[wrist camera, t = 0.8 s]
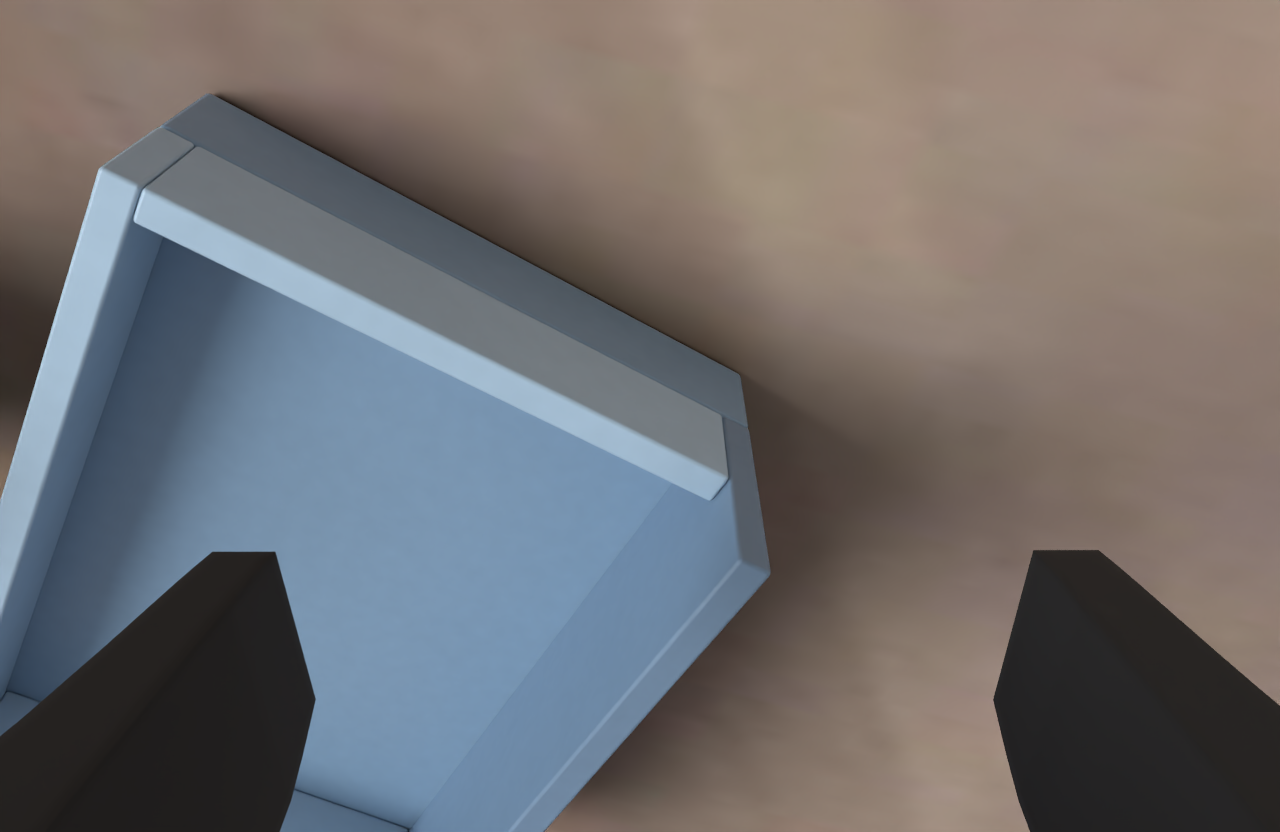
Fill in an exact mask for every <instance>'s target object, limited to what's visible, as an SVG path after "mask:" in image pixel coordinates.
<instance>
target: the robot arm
mask: <svg viewBox="0 0 1280 832" xmlns="http://www.w3.org/2000/svg"><path fill="white" fill-rule="evenodd" d="M315 701H316V698H315V695H314V691H313V687H312V684H311V680H310V676H309V673H308V669H307V665H306V662H305V658H304V654H303V651H302V647H301V643H300V640H299V636H298V632H297V629H296V625H295V621H294V618H293V614H292V610H291V607H290V603H289V599H288V596H287V592H286V588H285V585H284V581H283V577H282V574H281V570H280V566H279V563H278V559H277V555H276V552H211V553H210V554H209V555H208V556H207V557H205V558H204V559H203V560H202V561H201V562H199V563H198V564H197V565H196V566H195V567H193V568H192V569H191V570H190V571H189V572H188V573H186V574H185V575H184V576H183V577H182V578H181V579H180V580H178V581H177V582H176V583H175V584H174V585H173V586H172V587H170V588H169V589H168V590H167V591H166V592H165V593H164V594H163V595H162V596H160V597H159V598H158V599H157V600H156V601H155V602H154V603H153V604H151V605H150V606H149V607H148V608H147V609H146V610H145V611H144V612H143V613H141V614H140V615H139V616H138V617H137V618H136V619H135V620H134V621H132V622H131V623H130V624H129V625H128V626H127V627H126V628H125V629H124V630H122V631H121V632H120V633H119V634H118V635H117V636H116V637H115V638H113V639H112V640H111V641H110V642H109V643H108V644H107V645H106V646H104V647H103V648H102V649H101V650H100V651H99V652H98V653H96V654H95V655H94V656H93V657H92V658H91V659H90V660H88V661H87V662H86V663H85V664H84V665H83V666H82V667H80V668H79V669H78V670H77V671H76V672H75V673H73V674H72V675H71V676H70V677H69V678H68V679H67V680H65V681H64V682H63V683H62V684H61V685H60V686H59V687H57V688H56V689H55V690H54V691H53V692H52V693H51V694H49V695H48V696H47V697H46V698H45V699H44V700H42V701H41V702H40V703H39V704H38V705H37V706H36V707H34V708H33V709H32V710H31V711H30V712H29V713H28V714H26V715H25V716H24V717H23V718H22V719H20V720H19V721H18V722H17V723H16V724H14V725H13V726H12V727H11V728H9V729H8V730H7V731H6V732H4V733H3V734H2V735H1V736H0V832H280V830H281V827H282V824H283V822H284V819H285V816H286V813H287V811H288V808H289V805H290V802H291V799H292V795H293V792H294V788H295V784H296V780H297V776H298V772H299V768H300V765H301V761H302V757H303V753H304V748H305V744H306V740H307V735H308V731H309V727H310V722H311V718H312V714H313V709H314V705H315ZM993 701H994V705H995V709H996V713H997V717H998V721H999V726H1000V730H1001V734H1002V738H1003V742H1004V747H1005V751H1006V755H1007V759H1008V762H1009V766H1010V770H1011V774H1012V777H1013V781H1014V785H1015V789H1016V792H1017V796H1018V800H1019V803H1020V806H1021V808H1022V811H1023V814H1024V816H1025V819H1026V822H1027V824H1028V827H1029V830H1030V832H1280V706H1279V705H1278V704H1277V703H1276V702H1275V701H1273V700H1272V699H1271V698H1270V697H1269V696H1267V695H1266V694H1265V693H1264V692H1263V691H1261V690H1260V689H1259V688H1258V687H1257V686H1256V685H1254V684H1253V683H1252V682H1251V681H1250V680H1249V679H1247V678H1246V677H1245V676H1244V675H1243V674H1242V673H1240V672H1239V671H1238V670H1237V669H1236V668H1235V667H1233V666H1232V665H1231V664H1230V663H1229V662H1228V661H1226V660H1225V659H1224V658H1223V657H1222V656H1221V655H1219V654H1218V653H1217V652H1216V651H1215V650H1214V649H1213V648H1211V647H1210V646H1209V645H1208V644H1207V643H1206V642H1205V641H1203V640H1202V639H1201V638H1200V637H1199V636H1198V635H1197V634H1195V633H1194V632H1193V631H1192V630H1191V629H1190V628H1189V627H1187V626H1186V625H1185V624H1184V623H1183V622H1182V621H1180V620H1179V619H1178V618H1177V617H1176V616H1175V615H1174V614H1173V613H1171V612H1170V611H1169V610H1168V609H1167V608H1166V607H1165V606H1163V605H1162V604H1161V603H1160V602H1159V601H1158V600H1157V599H1155V598H1154V597H1153V596H1152V595H1151V594H1150V593H1149V592H1147V591H1146V590H1145V589H1144V588H1143V587H1142V586H1140V585H1139V584H1138V583H1137V582H1136V581H1135V580H1134V579H1132V578H1131V577H1130V576H1129V575H1128V574H1127V573H1125V572H1124V571H1123V570H1122V569H1121V568H1119V567H1118V566H1117V565H1116V564H1115V563H1113V562H1112V561H1111V560H1110V559H1109V558H1107V557H1106V556H1105V555H1104V554H1102V553H1101V552H1100V551H1099V550H1033V554H1032V558H1031V561H1030V565H1029V569H1028V573H1027V576H1026V580H1025V584H1024V587H1023V591H1022V595H1021V599H1020V602H1019V606H1018V610H1017V613H1016V617H1015V621H1014V625H1013V628H1012V632H1011V636H1010V639H1009V643H1008V647H1007V651H1006V654H1005V658H1004V662H1003V665H1002V669H1001V673H1000V677H999V680H998V684H997V688H996V691H995V695H994V699H993Z"/></svg>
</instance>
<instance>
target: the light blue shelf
mask: <svg viewBox="0 0 1280 832" xmlns="http://www.w3.org/2000/svg"><path fill="white" fill-rule="evenodd" d="M747 428H748V423H747V416H746V410H745V403H744V397H743V390H742V383H741V377H740V375H739V374H738V373H736V372H734V371H732V370H730V369H728V368H726V367H724V366H723V365H721V364H719V363H717V362H715V361H713V360H711V359H709V358H708V357H706V356H704V355H702V354H700V353H698V352H696V351H694V350H692V349H691V348H689V347H687V346H685V345H683V344H681V343H679V342H677V341H676V340H674V339H672V338H670V337H668V336H666V335H664V334H662V333H660V332H659V331H657V330H655V329H653V328H651V327H649V326H647V325H645V324H643V323H642V322H640V321H638V320H636V319H634V318H632V317H630V316H628V315H627V314H625V313H623V312H621V311H619V310H617V309H615V308H613V307H611V306H610V305H608V304H606V303H604V302H602V301H600V300H598V299H596V298H594V297H593V296H591V295H589V294H587V293H585V292H583V291H581V290H579V289H578V288H576V287H574V286H572V285H570V284H568V283H566V282H564V281H562V280H561V279H559V278H557V277H555V276H553V275H551V274H549V273H547V272H546V271H544V270H542V269H540V268H538V267H536V266H534V265H532V264H530V263H529V262H527V261H525V260H523V259H521V258H519V257H517V256H515V255H513V254H512V253H510V252H508V251H506V250H504V249H502V248H500V247H498V246H497V245H495V244H493V243H491V242H489V241H487V240H485V239H483V238H481V237H480V236H478V235H476V234H474V233H472V232H470V231H468V230H466V229H464V228H463V227H461V226H459V225H457V224H455V223H453V222H451V221H449V220H448V219H446V218H444V217H442V216H440V215H438V214H436V213H434V212H432V211H431V210H429V209H427V208H425V207H423V206H421V205H419V204H417V203H416V202H414V201H412V200H410V199H408V198H406V197H404V196H402V195H400V194H399V193H397V192H395V191H393V190H391V189H389V188H387V187H385V186H383V185H382V184H380V183H378V182H376V181H374V180H372V179H370V178H368V177H367V176H365V175H363V174H361V173H359V172H357V171H355V170H353V169H351V168H350V167H348V166H346V165H344V164H342V163H340V162H338V161H336V160H334V159H333V158H331V157H329V156H327V155H325V154H323V153H321V152H319V151H318V150H316V149H314V148H312V147H310V146H308V145H306V144H304V143H302V142H301V141H299V140H297V139H295V138H293V137H291V136H289V135H287V134H286V133H284V132H282V131H280V130H278V129H276V128H274V127H272V126H270V125H269V124H267V123H265V122H263V121H261V120H259V119H257V118H255V117H253V116H252V115H250V114H248V113H246V112H244V111H242V110H240V109H238V108H237V107H235V106H233V105H231V104H229V103H227V102H225V101H223V100H221V99H220V98H218V97H216V96H214V95H212V94H206V95H204V96H203V97H201V98H200V99H198V100H197V101H196V102H194V103H193V104H191V105H190V106H188V107H187V108H186V109H184V110H183V111H181V112H180V113H178V114H177V115H175V116H174V117H173V118H171V119H170V120H168V121H167V122H165V123H164V124H163V125H162V126H160V127H157V128H156V129H154V130H153V131H152V132H150V133H149V134H147V135H146V136H144V137H143V138H141V139H140V140H139V141H137V142H136V143H134V144H133V145H131V146H130V147H129V148H127V149H126V150H124V151H123V152H121V153H120V154H118V155H117V156H116V157H114V158H113V159H111V160H110V161H108V162H107V163H106V164H104V165H103V166H101V167H100V168H99V170H98V173H97V177H96V180H95V184H94V187H93V190H92V194H91V197H90V200H89V204H88V207H87V211H86V214H85V217H84V221H83V224H82V227H81V231H80V234H79V237H78V241H77V244H76V248H75V251H74V254H73V258H72V261H71V264H70V268H69V271H68V275H67V278H66V281H65V285H64V288H63V291H62V295H61V298H60V301H59V305H58V308H57V312H56V315H55V318H54V322H53V325H52V328H51V332H50V335H49V339H48V342H47V345H46V349H45V352H44V355H43V359H42V362H41V365H40V369H39V372H38V376H37V379H36V382H35V386H34V389H33V392H32V396H31V399H30V403H29V406H28V409H27V413H26V416H25V419H24V423H23V426H22V429H21V433H20V436H19V440H18V443H17V446H16V450H15V453H14V456H13V460H12V463H11V467H10V470H9V473H8V477H7V480H6V483H5V487H4V490H3V494H2V497H1V500H0V736H1V735H2V734H3V733H4V732H6V731H7V730H8V729H9V728H11V727H12V726H13V725H14V724H16V723H17V722H18V721H19V720H20V719H22V718H23V717H24V716H25V715H26V714H28V713H29V712H30V711H31V710H32V709H33V708H34V707H36V706H37V705H38V704H39V703H40V702H41V701H42V700H44V699H45V698H46V697H47V696H48V695H49V694H51V693H52V692H53V691H54V690H55V689H56V688H57V687H59V686H60V685H61V684H62V683H63V682H64V681H65V680H67V679H68V678H69V677H70V676H71V675H72V674H73V673H75V672H76V671H77V670H78V669H79V668H80V667H82V666H83V665H84V664H85V663H86V662H87V661H88V660H90V659H91V658H92V657H93V656H94V655H95V654H96V653H98V652H99V651H100V650H101V649H102V648H103V647H104V646H106V645H107V644H108V643H109V642H110V641H111V640H112V639H113V638H115V637H116V636H117V635H118V634H119V633H120V632H121V631H122V630H124V629H125V628H126V627H127V626H128V625H129V624H130V623H131V622H132V621H134V620H135V619H136V618H137V617H138V616H139V615H140V614H141V613H143V612H144V611H145V610H146V609H147V608H148V607H149V606H150V605H151V604H153V603H154V602H155V601H156V600H157V599H158V598H159V597H160V596H162V595H163V594H164V593H165V592H166V591H167V590H168V589H169V588H170V587H172V586H173V585H174V584H175V583H176V582H177V581H178V580H180V579H181V578H182V577H183V576H184V575H185V574H186V573H188V572H189V571H190V570H191V569H192V568H193V567H195V566H196V565H197V564H198V563H199V562H201V561H202V560H203V559H204V558H205V557H207V556H208V555H209V554H210V553H211V552H276V555H277V559H278V563H279V566H280V570H281V574H282V577H283V581H284V585H285V588H286V592H287V596H288V599H289V603H290V607H291V610H292V614H293V618H294V621H295V625H296V629H297V632H298V636H299V640H300V643H301V647H302V651H303V654H304V658H305V662H306V665H307V669H308V673H309V676H310V680H311V684H312V687H313V691H314V695H315V698H316V701H315V705H314V709H313V714H312V718H311V722H310V727H309V731H308V735H307V740H306V744H305V748H304V753H303V757H302V761H301V765H300V768H299V772H298V776H297V780H296V784H295V788H294V792H293V795H292V799H291V802H290V805H289V808H288V811H287V813H286V816H285V819H284V822H283V824H282V827H281V830H280V832H544V831H545V830H546V829H547V828H548V827H549V826H550V824H551V823H552V822H553V821H554V820H555V819H556V818H557V816H558V815H559V814H560V813H561V812H562V811H563V810H564V809H565V807H566V806H567V805H568V804H569V803H570V802H571V801H572V799H573V798H574V797H575V796H576V795H577V794H578V793H579V792H580V790H581V789H582V788H583V787H584V786H585V785H586V784H587V782H588V781H589V780H590V779H591V778H592V777H593V776H594V775H595V773H596V772H597V771H598V770H599V769H600V768H601V767H602V765H603V764H604V763H605V762H606V761H607V760H608V759H609V758H610V756H611V755H612V754H613V753H614V752H615V751H616V750H617V748H618V747H619V746H620V745H621V744H622V743H623V742H624V741H625V739H626V738H627V737H628V736H629V735H630V734H631V733H632V731H633V730H634V729H635V728H636V727H637V726H638V725H639V724H640V722H641V721H642V720H643V719H644V718H645V717H646V716H647V714H648V713H649V712H650V711H651V710H652V709H653V708H654V707H655V705H656V704H657V703H658V702H659V701H660V700H661V699H662V697H663V696H664V695H665V694H666V693H667V692H668V691H669V690H670V688H671V687H672V686H673V685H674V684H675V683H676V682H677V680H678V679H679V678H680V677H681V676H682V675H683V674H684V673H685V671H686V670H687V669H688V668H689V667H690V666H691V665H692V663H693V662H694V661H695V660H696V659H697V658H698V657H699V656H700V654H701V653H702V652H703V651H704V650H705V649H706V648H707V646H708V645H709V644H710V643H711V642H712V641H713V640H714V639H715V637H716V636H717V635H718V634H719V633H720V632H721V631H722V629H723V628H724V627H725V626H726V625H727V624H728V623H729V622H730V620H731V619H732V618H733V617H734V616H735V615H736V614H737V612H738V611H739V610H740V609H741V608H742V607H743V606H744V604H745V603H746V602H747V601H748V600H749V599H750V598H751V597H752V595H753V594H754V593H755V592H756V591H757V590H758V589H759V587H760V586H761V585H762V584H763V583H764V582H765V581H766V580H767V578H768V577H769V576H770V573H771V571H770V564H769V558H768V551H767V545H766V538H765V531H764V525H763V518H762V512H761V505H760V499H759V492H758V486H757V479H756V473H755V466H754V459H753V453H752V446H751V440H750V433H749V430H748V429H747Z"/></svg>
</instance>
